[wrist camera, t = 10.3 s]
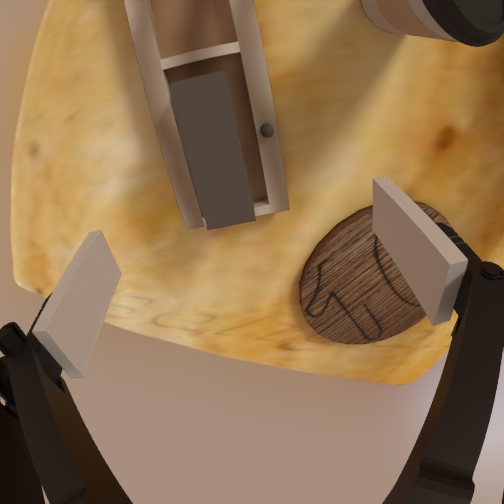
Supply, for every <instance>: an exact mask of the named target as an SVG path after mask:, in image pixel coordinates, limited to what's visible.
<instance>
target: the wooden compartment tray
mask: <svg viewBox="0 0 504 504" xmlns="http://www.w3.org/2000/svg"><path fill="white" fill-rule="evenodd" d="M124 2H125V7H126V12H127V17H128V21H129V26H130V30H131V35H132V39H133V43H134V47H135V52H136V56H137V60H138V64H139V68H140V72H141V76H142V80H143V84H144V88H145V92H146V95H147V99H148V103H149V107H150V110H151V114H152V118H153V121H154V125H155V129H156V132H157V136H158V139H159V143H160V146H161V150H162V153H163V156H164V160H165V163H166V167H167V170H168V173H169V176H170V180H171V183H172V186H173V189H174V193H175V196H176V199H177V202H178V205H179V209H180V212H181V215H182V218H183V221H184V224H185V227H186V230H189V229H193V228H198V227H203V226H206V222H205V219H204V215H203V212H202V208H201V205H200V202H199V198H198V195H197V191H196V188H195V184H194V180H193V177H192V173H191V170H190V166H189V163H188V159H187V155H186V152H185V148H184V144H183V141H182V137H181V133H180V129H179V126H178V122H177V118H176V114H175V110H174V106H173V102H172V99H171V95H170V91H169V87H168V85H170V84H173V83H175V82H178V81H181V80H183V79H187V78H191V77H195V76H199V75H203V74H207V73H212V72H216V71H221V70H226V72H227V77H228V81H229V86H230V91H231V95H232V100H233V105H234V109H235V114H236V119H237V124H238V128H239V133H240V138H241V143H242V148H243V152H244V157H245V162H246V167H247V172H248V177H249V181H250V187H251V193H252V199H253V205H254V211H255V216H259V215H264V214H270V213H275V212H280V211H286V210H290V207H289V200H288V193H287V186H286V179H285V172H284V166H283V159H282V153H281V147H280V140H279V134H278V128H277V122H276V116H275V110H274V104H273V99H272V93H271V87H270V82H269V76H268V71H267V66H266V60H265V55H264V50H263V45H262V40H261V35H260V30H259V25H258V20H257V16H256V11H255V6H254V2H253V0H124Z"/></svg>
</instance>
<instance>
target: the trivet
mask: <svg viewBox="0 0 504 504" xmlns="http://www.w3.org/2000/svg"><path fill="white" fill-rule="evenodd" d="M414 202H415V203H416V204H417V205H418V206H419V207H420V208H421V209H422V210H423V211H424V212H425V213H426V214H427V215H428V217H429V218H430V219H431V220H432V221H433V222H434V223H439V222H442V223H444V224H445V225H447V226H449V227H451V226H450V224H449V223H448V221H447V220H446V219H445V218H444V217H443V216H442V215H441V214H440V213H439V212H437V211H436V210H434V209H433V208H431V207H430V206H428V205H426V204H425V203H420V202H416V201H414ZM372 222H373V205H372V206H369V207H366V208H363V209H361V210H358V211H357V212H355V213H354V214H352V215H351V216H349V217H347V218H346V219H344V220H343V221H341V222H340V223H338V224H337V225H336V226H335V227H334V228H333V229H332V230H331V231H330V232H329V233H328V234H327V235H326V236H325V237H324V238H323V239H322V240H321V241H320V242H319V243H318V244H317V245H316V247H315V249H314V250H313V252H312V254H311V255H310V257H309V258H308V260H307V262H306V263H305V266H304V270H303V273H302V276H301V280H300V283H299V287H300V304H301V307H302V310H303V313H304V315H305V318H306V320H307V323H308V324H309V325H310V326H311V327H312V328H313V329H314V330H315V331H316V332H317V333H318V334H319V335H321V336H323V337H325V338H327V339H329V340H331V341H334V342H339V343H344V344H367V343H372V342H377V341H381V340H385V339H387V338H390V337H392V336H395V335H397V334H399V333H402V332H403V331H405V330H407V329H408V328H410V327H411V326H413V325H415V324H416V323H418V322H419V321H420V320H421V319H423V318H424V317H425V316H426V313H425V311H424V309H423V308H422V306H421V304H420V303H419V301H418V299H417V298H416V296H415V294H414V293H413V291H412V289H411V288H410V286H409V285H408V283H407V281H406V280H405V278H404V277H403V275H402V273H401V272H400V270H399V269H398V267H397V266H396V264H395V262H394V261H393V259H392V258H391V256H390V255H389V253H388V252H387V250H386V249H385V247H384V246H383V244H382V243H381V241H380V240H379V238H378V237H377V236H376V234H375V233H374V231H373V230H372ZM451 228H452V227H451ZM452 229H453V228H452Z"/></svg>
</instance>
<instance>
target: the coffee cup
mask: <svg viewBox="0 0 504 504" xmlns="http://www.w3.org/2000/svg"><path fill="white" fill-rule="evenodd" d="M361 3H362V7H363V10H364V12H365V14H366V15H367V17H368V18H369V19H370V21H371V22H372V23H374V24H375V25H376V26H377V27H379V28H381V29H382V30H385V31H388V32H393V33H405V34H408V35H412V36H420V37H428V38H434V39H441V40H447V41H452V42H461V43H463V44H466V45H469V46H474V47H480V46H485V45H487V44H491V43H493V42H495V41H496V40H498V39H499V38H500V36H501V35H502V34H503V32H504V0H361Z"/></svg>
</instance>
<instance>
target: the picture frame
mask: <svg viewBox="0 0 504 504" xmlns="http://www.w3.org/2000/svg"><path fill="white" fill-rule="evenodd" d="M168 87H169V91H170V95H171V99H172V102H173V106H174V110H175V114H176V118H177V122H178V126H179V129H180V133H181V137H182V141H183V144H184V148H185V152H186V155H187V159H188V163H189V166H190V170H191V173H192V177H193V180H194V184H195V188H196V191H197V195H198V198H199V202H200V205H201V208H202V212H203V215H204V219H205V222H206V226H207V229H208V230H211V229H215V228H220V227H225V226H230V225H236V224H241V223H246V222H251V221H256V217H255V211H254V205H253V199H252V193H251V187H250V181H249V177H248V172H247V167H246V162H245V157H244V152H243V148H242V143H241V138H240V133H239V128H238V124H237V119H236V114H235V109H234V105H233V100H232V95H231V91H230V86H229V81H228V77H227V72H226V70H221V71H216V72H212V73H207V74H203V75H199V76H195V77H191V78H187V79H183V80H181V81H178V82H175V83H173V84H170V85H168Z"/></svg>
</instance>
